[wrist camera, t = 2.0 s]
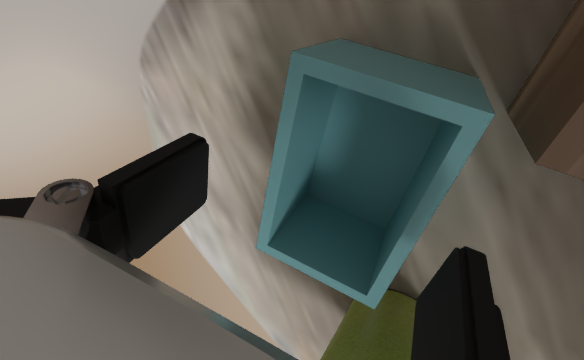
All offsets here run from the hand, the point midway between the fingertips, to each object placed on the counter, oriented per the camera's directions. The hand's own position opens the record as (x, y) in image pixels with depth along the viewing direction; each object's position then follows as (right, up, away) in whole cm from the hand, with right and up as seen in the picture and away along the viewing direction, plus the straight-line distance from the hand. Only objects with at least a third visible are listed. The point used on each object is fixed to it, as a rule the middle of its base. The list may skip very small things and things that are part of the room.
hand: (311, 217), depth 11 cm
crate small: (+4, +3, +6) cm, 8 cm away
